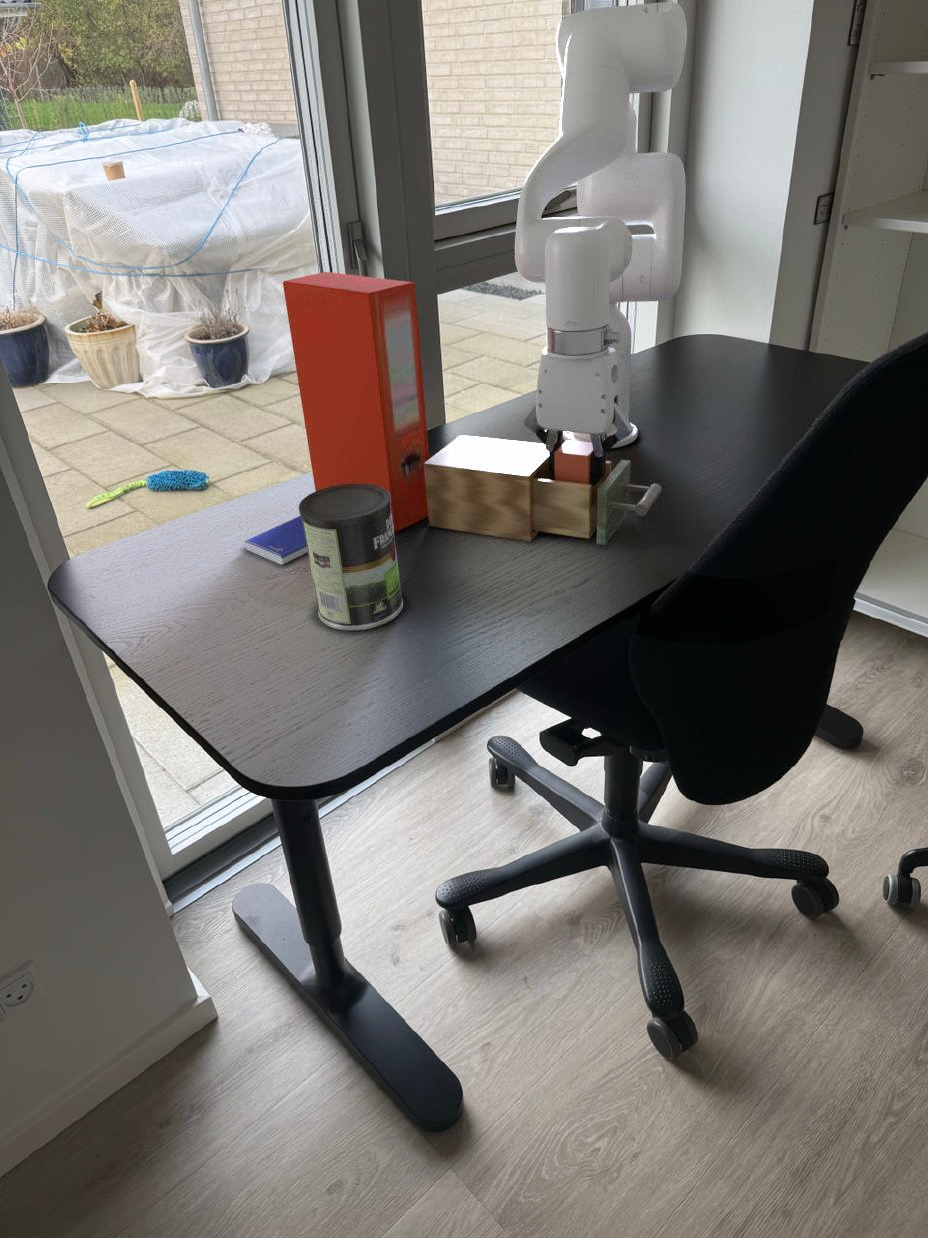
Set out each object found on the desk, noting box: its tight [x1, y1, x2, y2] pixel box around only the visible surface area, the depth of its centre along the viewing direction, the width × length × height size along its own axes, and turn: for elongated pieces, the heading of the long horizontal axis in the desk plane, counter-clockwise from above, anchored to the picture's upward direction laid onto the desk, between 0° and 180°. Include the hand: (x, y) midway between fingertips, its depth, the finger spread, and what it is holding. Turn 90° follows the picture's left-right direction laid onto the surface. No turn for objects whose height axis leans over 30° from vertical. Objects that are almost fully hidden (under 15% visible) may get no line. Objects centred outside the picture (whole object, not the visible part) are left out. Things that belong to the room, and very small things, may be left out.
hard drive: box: [244, 515, 308, 566], centre depth 121 cm, size 2×8×12 cm
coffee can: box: [298, 483, 404, 632], centre depth 101 cm, size 10×10×14 cm
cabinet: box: [424, 434, 549, 542], centre depth 121 cm, size 15×11×9 cm
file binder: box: [282, 271, 430, 532], centre depth 121 cm, size 8×17×32 cm, turn 47°
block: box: [555, 440, 593, 485], centre depth 114 cm, size 5×5×5 cm
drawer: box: [530, 459, 663, 546], centre depth 116 cm, size 19×10×8 cm, turn 64°
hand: (577, 477), depth 115 cm, fingers closed on block, 4 cm apart
